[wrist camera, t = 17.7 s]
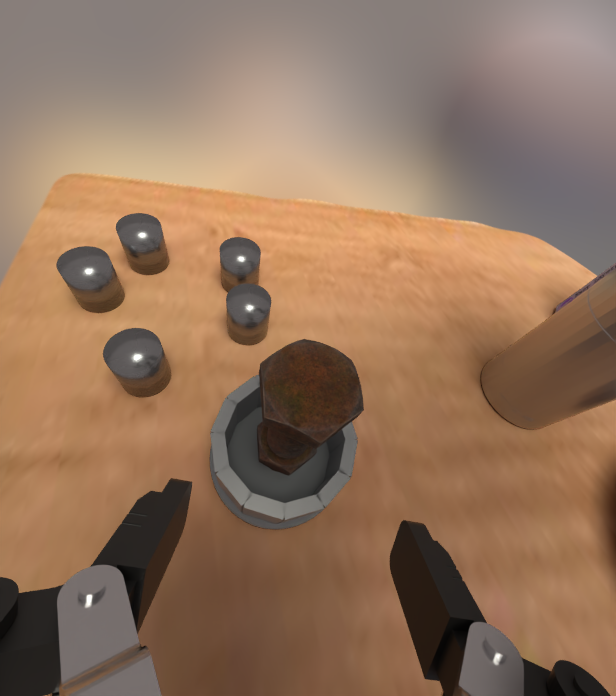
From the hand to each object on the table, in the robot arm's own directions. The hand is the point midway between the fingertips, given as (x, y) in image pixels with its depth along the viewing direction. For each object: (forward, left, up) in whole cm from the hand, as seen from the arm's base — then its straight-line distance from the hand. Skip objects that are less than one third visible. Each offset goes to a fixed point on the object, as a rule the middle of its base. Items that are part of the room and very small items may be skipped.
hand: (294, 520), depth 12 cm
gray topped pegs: (-8, -24, -17) cm, 30 cm away
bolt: (-5, -4, -16) cm, 17 cm away
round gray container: (-5, -4, -17) cm, 18 cm away
